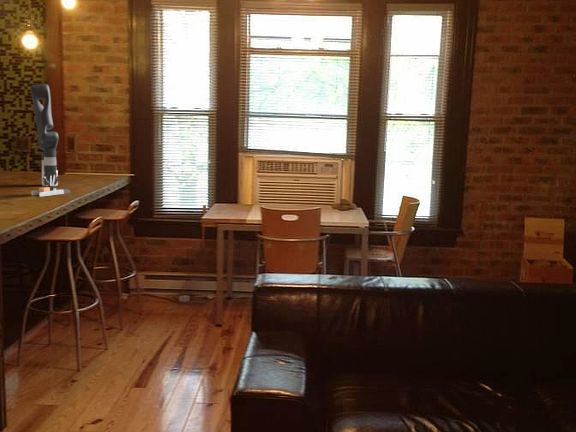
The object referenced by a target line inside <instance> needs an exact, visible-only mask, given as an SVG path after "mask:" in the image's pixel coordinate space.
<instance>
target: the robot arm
mask: <svg viewBox="0 0 576 432" xmlns="http://www.w3.org/2000/svg"><path fill="white" fill-rule="evenodd" d="M30 95H31V99H32V103H33V108H34V116H35V124H36V128H37V137H38V147H39V149H40V150H42V151H43V155H42V156H41V178H40V180H41V184H42V185H41V186H42V187H49V188H50V191H53V189H54V187H56V186H58V185H59V180H60V176H59V174H58V170H57V168H58V167H57V166H58V165H57V147H58V143H59V138H60V137H59V133H58V132H57V131H50V130H52V129H53V128H54V121H53V116H52V99H51V90H50V86H49V85H48V84H47V83H44V84H43V83H40V84H32V85H31V86H30ZM40 100H45V103H44V105H43V104H41V102H40Z"/></svg>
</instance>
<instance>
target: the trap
mask: <svg viewBox="0 0 576 432" xmlns="http://www.w3.org/2000/svg"><path fill="white" fill-rule="evenodd" d="M56 190H64V194H71V189H67V188H56ZM64 194H63V195H64Z"/></svg>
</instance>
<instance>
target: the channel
mask: <svg viewBox="0 0 576 432" xmlns="http://www.w3.org/2000/svg"><path fill="white" fill-rule="evenodd" d="M56 189H57V188H56V187H55V188H54V187H53V191H47V192H39V189H38V190H31V196H38V197H42V198H43V197H46V196H47V197H49V196H55V195H56V196H57V195H64V190H56Z"/></svg>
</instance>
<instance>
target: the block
mask: <svg viewBox="0 0 576 432" xmlns="http://www.w3.org/2000/svg"><path fill="white" fill-rule="evenodd" d="M38 190H39V192H47V191H50V188H49V187H48V186H42V187H41V186H39V187H38Z"/></svg>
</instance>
